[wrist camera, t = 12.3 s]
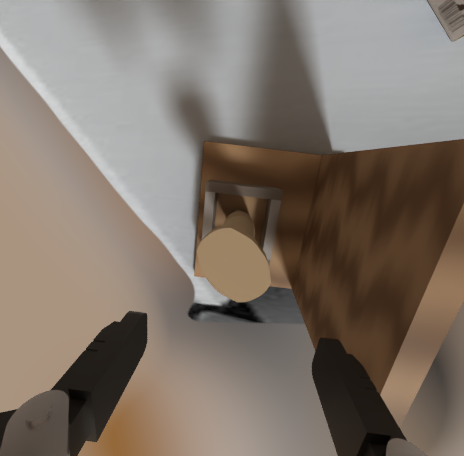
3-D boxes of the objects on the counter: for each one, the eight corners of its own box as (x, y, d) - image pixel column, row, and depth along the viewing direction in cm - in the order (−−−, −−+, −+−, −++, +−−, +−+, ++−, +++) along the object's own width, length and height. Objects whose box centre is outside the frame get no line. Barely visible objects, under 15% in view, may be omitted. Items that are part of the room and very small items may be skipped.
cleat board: (205, 142, 29) (117, 92, 9) (345, 158, 29) (581, 145, 9) (195, 272, 35) (129, 420, 15) (312, 288, 34) (406, 461, 14)
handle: (238, 245, 32) (232, 311, 18) (213, 211, 31) (184, 251, 16) (266, 228, 31) (283, 282, 17) (240, 191, 30) (235, 216, 15)
